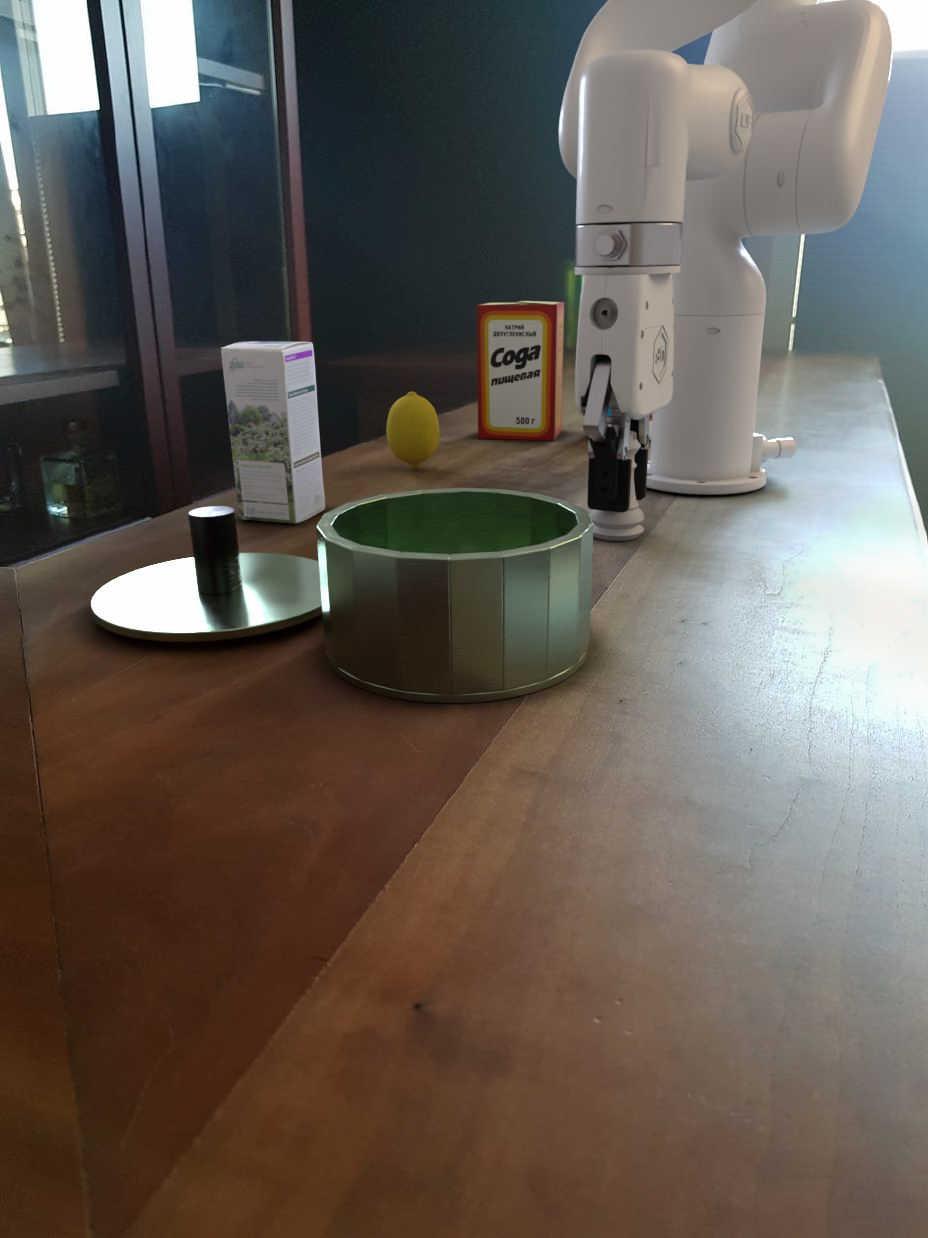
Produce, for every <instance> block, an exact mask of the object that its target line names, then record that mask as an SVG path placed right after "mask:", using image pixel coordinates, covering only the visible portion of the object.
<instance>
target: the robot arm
mask: <svg viewBox="0 0 928 1238" xmlns="http://www.w3.org/2000/svg"><path fill="white" fill-rule="evenodd" d="M819 1H820V0H607V1H606V2H605V3H604V5H602V7H601V8H600V9H599V10H598V11H597V13H596V14H595V15H594V17H593V19H592V20H591V21H590V23H589V24H588V26H587V28H586V29H585V32H584V33H583V35H582V37H581V40H580V42H579V45H578V48H577V51H576V54H575V56H574V60H573V64H572V67H571V70H570V72H569V76H568V79H567V82H566V86H565V90H564V93H563V96H562V97H563V98H562V102H561V106H560V114H559V119H558V132H557V133H558V148H559V153H560V157H561V160H562V162H563V165H564V167H565V169H566V170H567V172H568V173H569V174H570V175H571V176H572V177H573V178H574V179H575V180H576V197H575V198H576V200H575V201H576V203H575V204H576V205H575V206H576V207H575V232H574V233H575V234H574V236H575V238H574V239H575V240H574V272H573V273H574V276H582V283H581V291H580V301H579V308H578V319H577V321H578V322H577V324H578V325H577V332H576V333H577V334H576V336H577V337H576V349H575V367H574V373H575V374H574V396H575V397H574V398H575V399H574V400H575V408H576V409H577V411H578V412H579V413H580V414H581V415H582V416H583V420H582V429H583V432H584V433H585V434H586V436H587V439H588V443H587V457H588V472H587V473H588V474H587V499H586V500H587V501H586V503H587V508H588V509H590V510H602V511H612V512H622V513H623V512H626V511H627V510H628V509H629V507H630V488H631V467H632V459H627V454H628V444H629V432H630V431H633V432H635V433H637V436H636V439H637V440H638V442H639V443H640V445H641V447H640V448H639V450H638V451H637V452H636V454H635V456H634V462H635V463H636V464H637V467H636V468H635V469H634V487H635V496H636V500H637V501H642V500H644V498H646V495H647V489H651V490H655V491H660V492H667V493H673V494H674V493H675V494H682V495H699V496H700V495H701V496H702V495H703V496H716V495H717V496H720V495H721V496H723V495H734V494H742V493H748V492H753V491H757V490H759V489H761V488H763V487H765V486H766V484H767V480H768V479H767V478H768V472H767V471H766V470H765V469H764V468H762V466H761V465H762V464H765V463H766V462H767V461H768V459H774V460H776V459H777V460H778V459H789V458H790V459H791V458H792V457H794V456H795V455H796V452H797V443H796V441H795V439H794V438H793V437H781V438H774V439H770V440H768V438H766V437H765V435H763V434H759V433H756V432H755V426H756V425H755V424H756V415H757V405H758V403H757V402H758V393H759V384H760V383H759V381H760V370H761V360H762V348H763V339H764V338H763V337H764V328H765V316H766V307H767V289H766V288H767V287H766V284H765V280H764V277H763V275H762V273H761V271H760V269H759V267H758V266H757V264H756V263H755V261H754V260H753V258H752V257H751V255H750V254H749V253H748V251H747V249H746V248H745V246H744V243H743V242H742V240H743V239H745V238H753V237H757V236H791V235H792V236H793V235H795V236H796V235H797V236H798V235H816V234H817V235H818V234H825V233H830V232H834V231H837V230H839V229H841V228H843V227H844V226H845V225H847V224H848V222H849V221H851V219H852V218H853V217H854V215H855V213H856V211H857V209H858V206H859V204H860V202H861V199H862V196H863V194H864V189H865V187H866V182H867V178H868V174H869V170H870V165H871V161H872V156H873V152H874V148H875V144H876V140H877V136H878V132H879V127H880V123H881V118H882V115H883V111H884V106H885V101H886V97H887V93H888V89H889V83H890V77H891V71H892V62H893V33H892V28H891V22H890V20H889V17H888V15H887V12H885V10H884V9H883V8H882V7H881V6H880V5H879V4H877V3H876V2H874V1H871V0H832V1H824V2H819ZM710 33H711V35H710V40H709V43H708V47H707V50H706V54H705V58H704V61H703V64H694V63H688V62H687V61H686V60H685V59H684V58H683V57H682V56H681V55H679V54H678V53H674V52H675V51H677V50H678V49H680V48H682V47H684V46H686V45H688V44H691V43H692V42H694V41H696V40H698V39H701V38H702V37H705V36H706V35H709V34H710ZM608 409H611V416H607V411H608ZM652 413H653V415H652V433H651V440H649V422H650V414H652ZM608 424H611V425H612V427H609V426H608ZM617 435H618V438H617ZM649 445H650V454H649V449H648V448H649Z"/></svg>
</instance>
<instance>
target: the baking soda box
mask: <svg viewBox="0 0 928 1238" xmlns="http://www.w3.org/2000/svg"><path fill="white" fill-rule="evenodd" d="M564 328H565V302H564V301H541V300H540V301H538V300H536V301H533V300H520V301H517V302H486V303H485V302H484V303H480V304H477V305H476V347H477V348H476V356H477V357H476V358H477V359H476V361H477V362H476V363H477V366H476V367H477V368H476V369H477V371H476V373H477V439H493V440H494V439H497V440H534V441H535V440H536V441H537V440H538V441H555V440H556V439H557V437H558V436H559V435H560V434H561V433H562V429H563V427H562V426H563V386H564V385H563V379H564V378H563V377H564V376H563V375H564V339H565V338H564V337H565V334H564V333H565V332H564V331H565V329H564Z"/></svg>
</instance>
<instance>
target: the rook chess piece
mask: <svg viewBox="0 0 928 1238" xmlns="http://www.w3.org/2000/svg"><path fill="white" fill-rule="evenodd" d="M636 436H637V433H635V432H633V431H630V432H629V444H628V454H627V459H632V467H631V488H630V507H629V509H628V510H627V511H626V512H623V513H622V512H612V511H602V510H592V509H590V512H589V514H590V517H591V519H592V522H593V538H597V539H599V540H603V541H609V542H610V541H611V542H622V541H623V542H625V541H632V540H636V539H638V538H640V537H641V535H642V534H643V533H644V531H645V527H643V525H641V524H642V523H643V521H644V519H645V515H644V511H642V510H641V508H640V507H639V505H640V503H639V502H638V500H636V496H635V487H634V469H635V468H636V467H637V464H636V463H635V462H634V456H635V454H636V452H637V451H638V450H639V448H640V447H641V445H640V443H639V442H638V440H637V439H636ZM617 438H618V435H617Z"/></svg>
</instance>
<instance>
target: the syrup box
mask: <svg viewBox="0 0 928 1238" xmlns="http://www.w3.org/2000/svg"><path fill="white" fill-rule="evenodd" d="M220 350H221V351H220V354H221V364H222V374H223V382H224V392H225V399H226V409H227V416H228V417H227V418H228V419H227V420H228V427H229V428H228V429H229V438H230V445H231V448H230V449H231V454H232V455H231V456H232V464H233V465H232V466H233V475H234V482H235V483H234V484H235V490H236V492H235V493H236V499H237V500H236V502H237V511H238V518H239V520H244V521H245V520H246V521H256V522H257V521H258V522H268V523H279V524H296V525H297V524H299V523H301V522H305V521H306V520H309V519H310V518H313V516H316V515H318V514H320V513H321V512H323V511H325V510H326V497H325V496H326V495H325V487H324V478H323V465H322V451H321V438H320V426H319V425H320V424H319V408H318V406H319V405H318V393H317V392H318V388H317V377H316V375H317V374H316V362H315V361H316V360H315V351H314V344H313V342H311V341H260V340H259V341H257V340H255V341H253V340H252V341H238V342H234V343H231V344H227V345H226V346H223V347H220Z"/></svg>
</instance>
